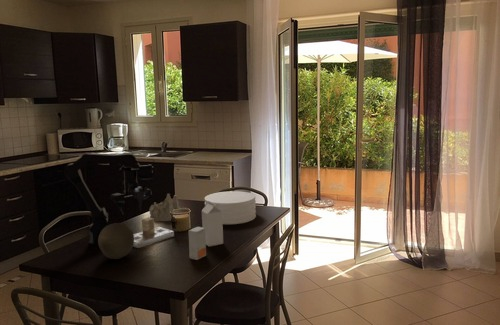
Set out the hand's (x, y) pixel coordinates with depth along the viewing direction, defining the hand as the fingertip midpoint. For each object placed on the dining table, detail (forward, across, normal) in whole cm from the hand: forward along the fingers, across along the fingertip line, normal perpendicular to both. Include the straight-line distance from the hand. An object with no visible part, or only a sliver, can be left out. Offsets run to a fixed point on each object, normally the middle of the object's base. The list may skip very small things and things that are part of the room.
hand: (132, 212), depth 186 cm
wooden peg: (+13, +4, -7) cm, 15 cm away
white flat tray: (+12, +4, -7) cm, 15 cm away
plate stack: (+12, +54, -11) cm, 56 cm away
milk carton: (+12, +19, -35) cm, 42 cm away
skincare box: (+12, +5, -42) cm, 44 cm away
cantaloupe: (+13, -18, -18) cm, 28 cm away
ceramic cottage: (+13, +31, +17) cm, 38 cm away
